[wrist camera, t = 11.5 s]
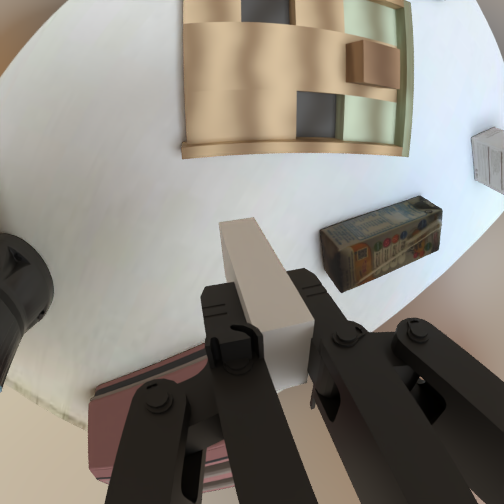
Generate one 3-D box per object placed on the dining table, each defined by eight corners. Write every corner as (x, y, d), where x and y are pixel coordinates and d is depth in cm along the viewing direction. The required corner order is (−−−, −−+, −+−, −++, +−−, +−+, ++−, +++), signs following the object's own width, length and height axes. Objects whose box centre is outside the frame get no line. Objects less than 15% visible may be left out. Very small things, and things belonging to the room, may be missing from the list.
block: (345, 82, 29) (363, 82, 25) (345, 43, 26) (363, 39, 23) (380, 88, 30) (399, 89, 26) (380, 51, 27) (399, 49, 24)
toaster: (277, 381, 56) (305, 468, 39) (146, 426, 58) (149, 501, 41) (234, 327, 47) (262, 441, 29) (89, 387, 48) (77, 475, 31)
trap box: (183, 152, 32) (182, 159, 28) (179, -19, 21) (178, -34, 17) (389, 149, 36) (408, 157, 33) (390, 7, 26) (410, 2, 22)
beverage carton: (419, 235, 45) (442, 254, 40) (322, 273, 45) (340, 298, 39) (420, 193, 41) (447, 209, 36) (315, 228, 41) (335, 251, 35)
